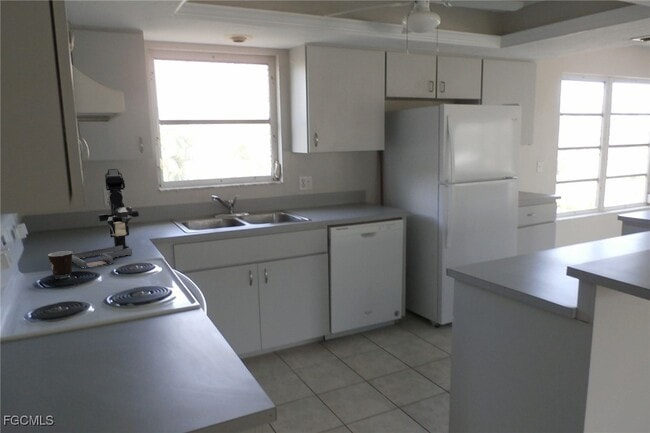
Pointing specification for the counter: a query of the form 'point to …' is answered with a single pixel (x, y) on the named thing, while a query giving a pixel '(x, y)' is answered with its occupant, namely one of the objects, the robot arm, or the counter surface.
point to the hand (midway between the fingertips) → (119, 232)
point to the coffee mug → (61, 262)
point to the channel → (106, 254)
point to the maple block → (119, 229)
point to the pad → (96, 263)
